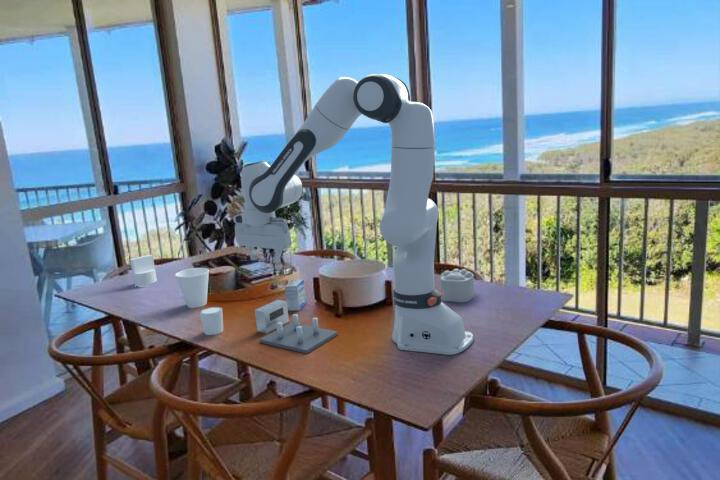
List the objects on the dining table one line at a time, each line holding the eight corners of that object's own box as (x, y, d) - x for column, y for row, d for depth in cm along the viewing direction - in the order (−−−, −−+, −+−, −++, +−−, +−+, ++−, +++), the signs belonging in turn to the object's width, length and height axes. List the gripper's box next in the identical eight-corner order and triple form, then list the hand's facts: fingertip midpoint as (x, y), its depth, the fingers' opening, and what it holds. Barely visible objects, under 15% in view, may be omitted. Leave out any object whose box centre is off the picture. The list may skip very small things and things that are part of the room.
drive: (289, 322, 166) (286, 301, 165) (267, 333, 158) (264, 311, 157) (279, 320, 168) (277, 299, 167) (257, 331, 160) (254, 310, 159)
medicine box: (299, 310, 175) (297, 286, 173) (287, 310, 176) (284, 286, 174) (306, 302, 183) (304, 279, 181) (294, 302, 184) (292, 279, 182)
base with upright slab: (152, 279, 229) (147, 253, 226) (160, 283, 222) (156, 256, 220) (131, 285, 223) (126, 258, 220) (139, 288, 216) (134, 261, 214)
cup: (208, 297, 198) (203, 265, 195) (218, 304, 188) (213, 271, 186) (176, 304, 192) (171, 272, 189) (185, 313, 182) (179, 279, 179)
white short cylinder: (206, 327, 166) (203, 307, 165) (227, 326, 166) (224, 305, 165) (199, 336, 160) (196, 315, 158) (221, 335, 159) (218, 313, 158)
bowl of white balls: (438, 300, 175) (437, 275, 173) (448, 288, 186) (447, 265, 184) (469, 302, 170) (468, 277, 168) (477, 290, 182) (477, 266, 180)
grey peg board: (337, 334, 153) (336, 317, 151) (307, 353, 141) (305, 334, 140) (291, 325, 163) (289, 308, 162) (259, 342, 152) (257, 324, 150)
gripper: (293, 216, 152) (298, 261, 155) (244, 213, 164) (249, 256, 167) (278, 220, 147) (283, 267, 150) (229, 217, 159) (235, 261, 162)
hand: (265, 261), depth 159 cm, fingers open, 8 cm apart
